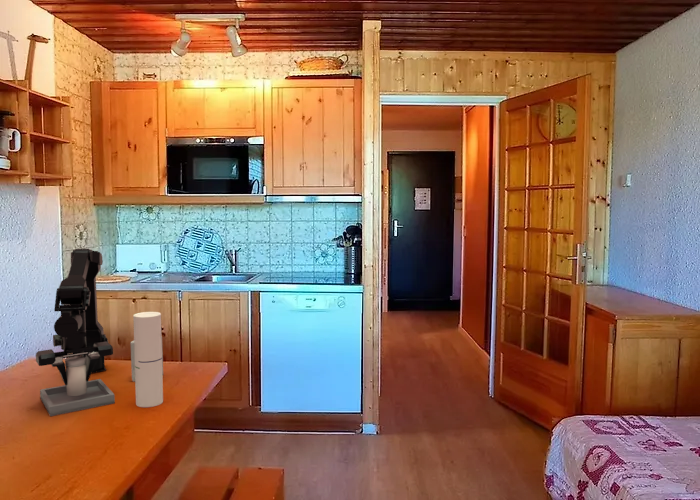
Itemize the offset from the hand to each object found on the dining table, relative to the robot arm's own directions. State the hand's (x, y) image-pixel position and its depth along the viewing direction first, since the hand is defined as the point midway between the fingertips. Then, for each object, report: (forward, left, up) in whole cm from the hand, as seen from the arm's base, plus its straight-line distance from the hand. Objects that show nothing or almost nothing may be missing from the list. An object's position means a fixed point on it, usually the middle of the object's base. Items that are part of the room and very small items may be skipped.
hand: (76, 383), depth 156 cm
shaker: (0, 0, -3) cm, 3 cm away
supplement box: (-22, -8, -5) cm, 24 cm away
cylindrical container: (-16, +13, -5) cm, 21 cm away
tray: (0, 0, -5) cm, 5 cm away
